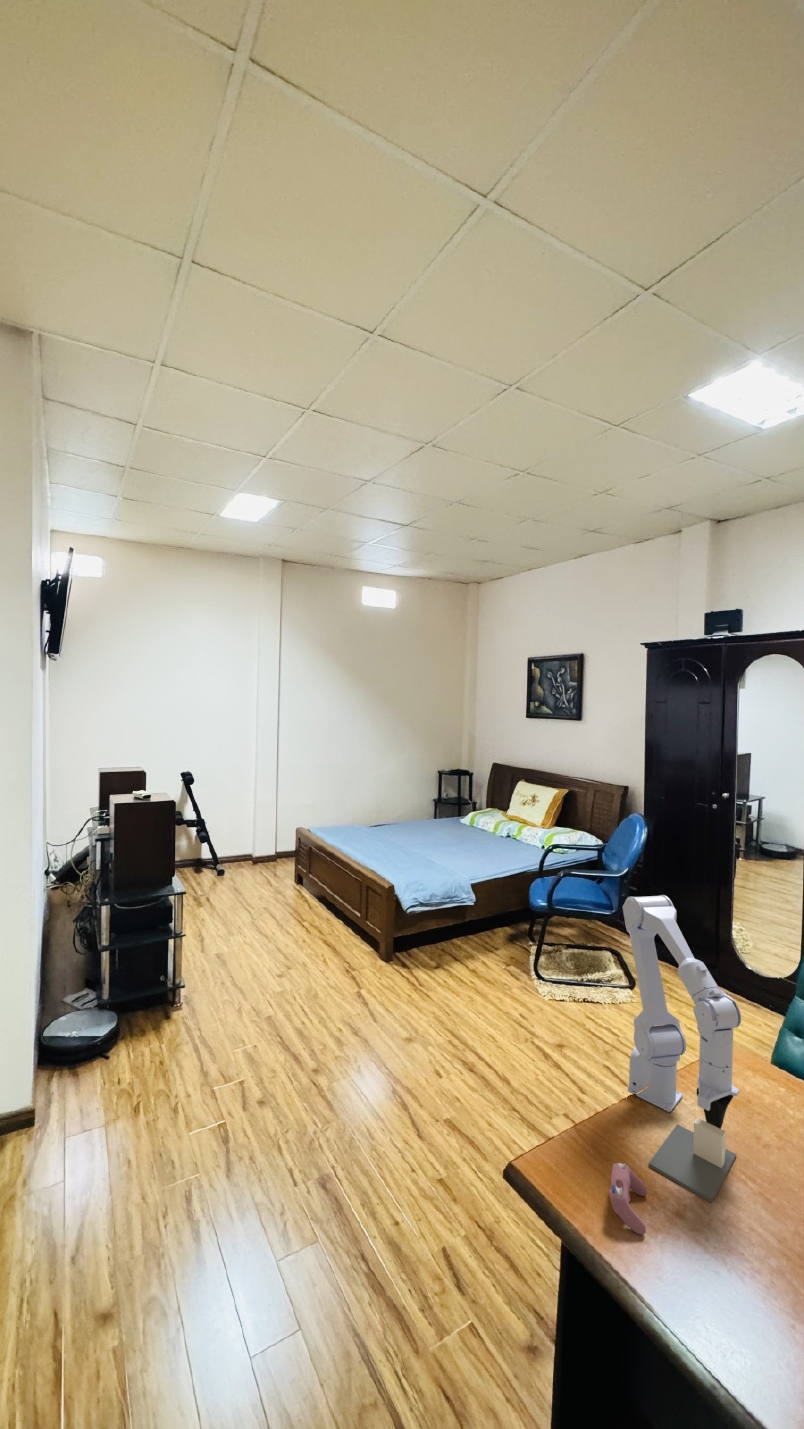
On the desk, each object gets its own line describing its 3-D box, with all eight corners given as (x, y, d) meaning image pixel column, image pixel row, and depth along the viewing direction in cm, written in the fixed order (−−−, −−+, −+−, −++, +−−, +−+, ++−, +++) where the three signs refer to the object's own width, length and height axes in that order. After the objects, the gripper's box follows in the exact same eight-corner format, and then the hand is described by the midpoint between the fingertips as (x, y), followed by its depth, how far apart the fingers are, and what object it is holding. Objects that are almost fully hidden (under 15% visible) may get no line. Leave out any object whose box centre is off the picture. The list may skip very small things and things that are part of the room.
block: (693, 1153, 110) (694, 1122, 110) (696, 1147, 111) (697, 1117, 111) (721, 1168, 106) (722, 1136, 106) (724, 1162, 108) (725, 1131, 108)
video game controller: (624, 1194, 102) (607, 1154, 104) (649, 1191, 101) (631, 1150, 102) (621, 1239, 93) (602, 1195, 95) (648, 1237, 92) (628, 1192, 93)
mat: (648, 1166, 107) (648, 1162, 107) (677, 1126, 117) (677, 1123, 117) (711, 1202, 99) (711, 1199, 99) (736, 1157, 110) (736, 1154, 110)
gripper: (727, 1085, 103) (725, 1159, 103) (748, 1053, 113) (747, 1120, 113) (686, 1067, 108) (684, 1138, 108) (710, 1038, 118) (708, 1102, 118)
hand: (714, 1127), depth 111 cm, fingers closed
